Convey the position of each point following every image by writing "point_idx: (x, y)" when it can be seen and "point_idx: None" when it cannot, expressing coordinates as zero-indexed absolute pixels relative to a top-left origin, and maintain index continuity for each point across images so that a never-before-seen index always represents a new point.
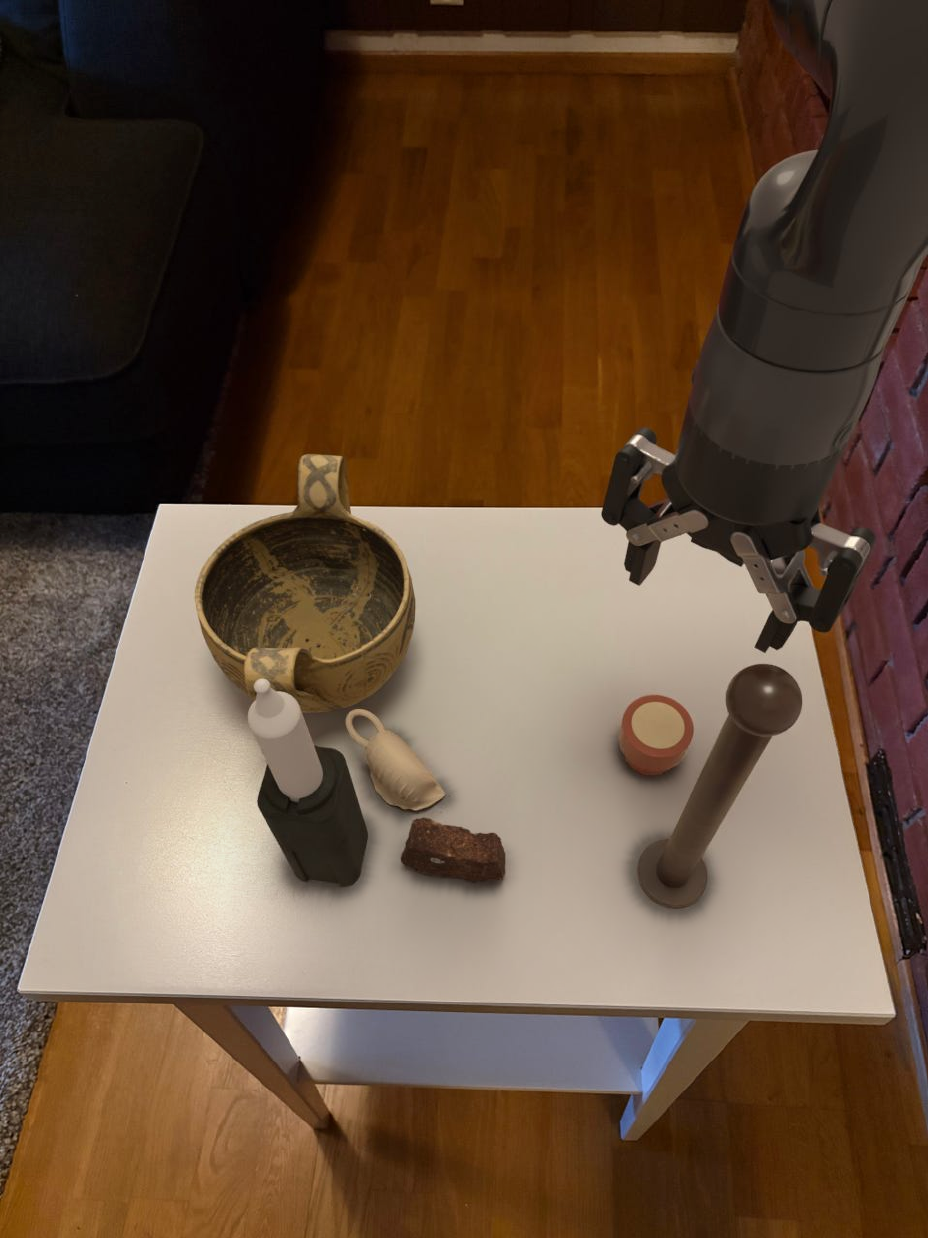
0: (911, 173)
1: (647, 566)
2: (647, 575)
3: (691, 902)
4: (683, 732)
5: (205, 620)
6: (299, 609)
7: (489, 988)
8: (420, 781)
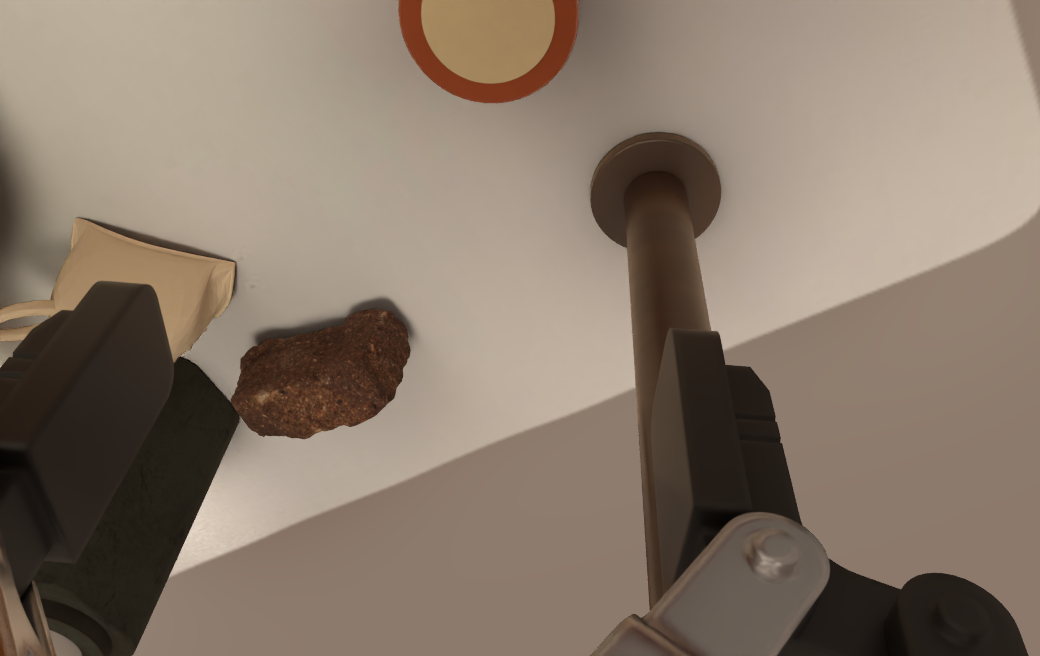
0: None
1: (132, 399)
2: (161, 327)
3: (705, 229)
4: (551, 5)
5: None
6: None
7: (486, 438)
8: (184, 339)
